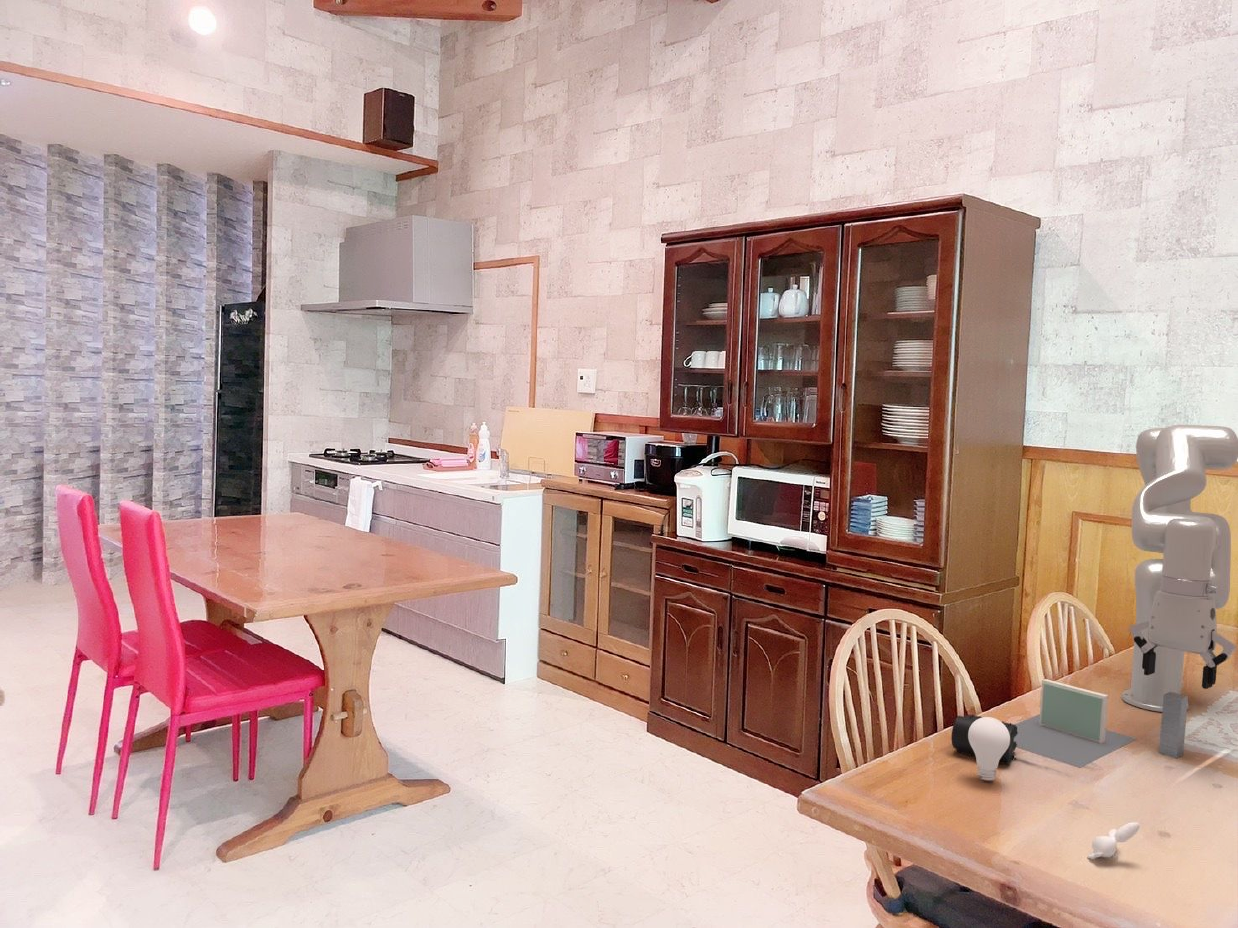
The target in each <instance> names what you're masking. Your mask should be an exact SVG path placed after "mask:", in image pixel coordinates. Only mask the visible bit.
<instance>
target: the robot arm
mask: <svg viewBox="0 0 1238 928" xmlns="http://www.w3.org/2000/svg"><path fill="white" fill-rule="evenodd" d="M1135 446H1136V447H1135V450H1136V451H1135V453H1136V460H1137V464H1138V469H1139V472H1140V474H1141V477H1142V480H1143V483H1144V486H1143V487H1142V488H1141V490H1139V492H1138V493H1137V494H1136V496H1135V498H1134V500H1133V504H1132V507H1131V508H1132V509H1131V538H1132V542H1133V544H1134V546H1135V547H1137V549H1139V550H1141V551H1143V552H1149V553H1151V552H1152V553H1160V554H1163V555H1162V556H1163V557H1162V558H1150V559H1145V560H1143V561H1141V562H1140V563H1139V564H1138V565H1137V566H1136V568H1135V570H1134V586H1135V587H1134V589H1135V604H1136V605H1135V608H1136V609H1135V613H1136V614H1135V624H1133V625H1130V626H1129V628H1128V629H1129V631H1130V634H1131V635H1132V637H1133V655H1132V668H1131V679H1130V680H1131V681H1130V689H1127V690H1124V691H1122V693H1121V699H1122V700H1123V701H1124V702H1125V703H1127V704H1129V705H1131V706H1134V707H1135V708H1136V707H1137V708H1141V709H1144V710H1149V711H1153V712H1159V713H1162V710H1163V697H1164V694H1166V693H1169V692H1173V693H1177V694H1181V695H1182V689H1183V688H1184V684H1183V673H1184V672H1183V670H1184V661H1185V660H1184V659H1185V653H1191V654H1195V655H1196V654H1197V655H1199V656H1200V657H1201V658H1202V660H1203V661H1204V663H1205V664H1206V665H1204V666H1203V668H1202V678H1201V679H1202V681H1201V688H1202V689H1205V690H1207V689H1210V688H1212V687H1213V685H1215V684H1216V682H1217V670H1218V669H1217V668H1218V666H1220V664H1223V663H1224V662H1226V661H1227V660H1228V659H1230V657H1231V655H1232V654H1233V653H1235V651H1236V650H1237V645H1236V644H1235V643H1233V642H1232V641H1230V640H1229V639H1228V638H1226V637H1225V636H1223V635H1221V634H1220V633H1218V631H1217V630H1218V628H1217V610H1218V609H1222V608H1224V607H1225V606H1226V605H1227V603H1228V602H1229V598H1230V591H1231V562H1232V561H1231V558H1232V557H1231V555H1232V536H1231V535H1232V533H1231V528H1230V524H1229V522H1228V520H1227V519H1226V518H1225V517H1223V516H1221V515H1219V514H1217V513H1209V512H1196V511H1195V512H1194V511H1192V510H1191V501H1192V499H1194V498H1196V497H1198V496H1199V495H1201V494H1202V493H1203V492H1204V491H1205V488H1206V486H1207V472H1206V470H1213V471H1214V470H1215V471H1216V470H1217V471H1221V470H1222V471H1223V470H1228V469H1232V468H1233V467H1234V466H1235V465H1236V463H1237V462H1238V436H1237V433H1236V432H1235V431H1234V430H1233V429H1232V428H1230V427H1228V426H1221V425H1198V424H1174V425H1170V426H1166V427H1155V428H1149V429H1148V428H1147V429H1146V430H1143V431H1142V432H1140V433H1139V434H1138V436H1137V439H1136V445H1135ZM1217 645H1219V646H1220V647H1222V651H1221V652H1220V653H1219V654H1218V655H1216V653H1215V652H1214V651H1215V650H1216V648H1217ZM1188 710H1189V702H1188V703H1187V711H1188Z"/></svg>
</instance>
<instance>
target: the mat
mask: <svg viewBox="0 0 1238 928" xmlns="http://www.w3.org/2000/svg"><path fill="white" fill-rule="evenodd" d="M1039 721H1040V713H1039V714H1037V715H1035V716H1032V717H1029V718H1027V719H1025V720H1022V721H1019V722H1017V723H1014V725H1016V726H1017V732H1018V734H1017V735H1016V736H1015V737H1014V741H1015V742H1016V744H1017V746H1016V749H1020V750H1024V751H1026V752H1029V753H1032V754H1035V755H1038V756H1041V757H1043V758H1044V757H1045V758H1048V759H1051V760H1054V761H1056V762H1060V763H1064V764H1067V765H1069V766H1071V767H1075V768H1079V769H1081V768H1083V767H1085V766H1087V765H1089V764H1090V763H1093V762H1094V761H1097V760H1099V759H1100V758H1103V757H1104V756H1106V755H1107V756H1108V755H1109V754H1111V753H1113V752H1115V751H1117V750H1119V749H1121V748H1122V747H1125V746H1126V745H1129V744H1131V743H1132V742H1134V741H1136V740H1138V738H1136V737H1133V736H1129V735H1126V734H1122V733H1119V732H1115V731H1112V730H1108V729H1106V732H1105V742H1104V743H1098V742H1095V741H1092V740H1088V739H1085V738H1082V737H1078V736H1075V735H1072V734H1068V733H1065V732H1062V731H1059V730H1055V729H1052V728H1049V727H1045V726H1042V725H1039Z"/></svg>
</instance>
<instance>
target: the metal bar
mask: <svg viewBox="0 0 1238 928" xmlns="http://www.w3.org/2000/svg"><path fill="white" fill-rule="evenodd" d="M1187 703H1188V704H1189V696H1188V695H1185V694H1182V693H1181V694H1177V693H1173V692H1169V693H1166V694H1164V697H1163V710H1162V712H1161V723H1160V724H1161V725H1160V737H1159V749H1158V750H1159V751H1158V754H1159V755H1160V754H1161V755H1162V756H1163V755H1164V756H1166V757H1170V758H1174V759H1179V758H1180V757H1182V756H1184V751H1185V749H1184V747H1185V737H1186V736H1185V735H1186V728H1187V727H1186V726H1187V724H1186V723H1187V713H1188V710H1187Z"/></svg>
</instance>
